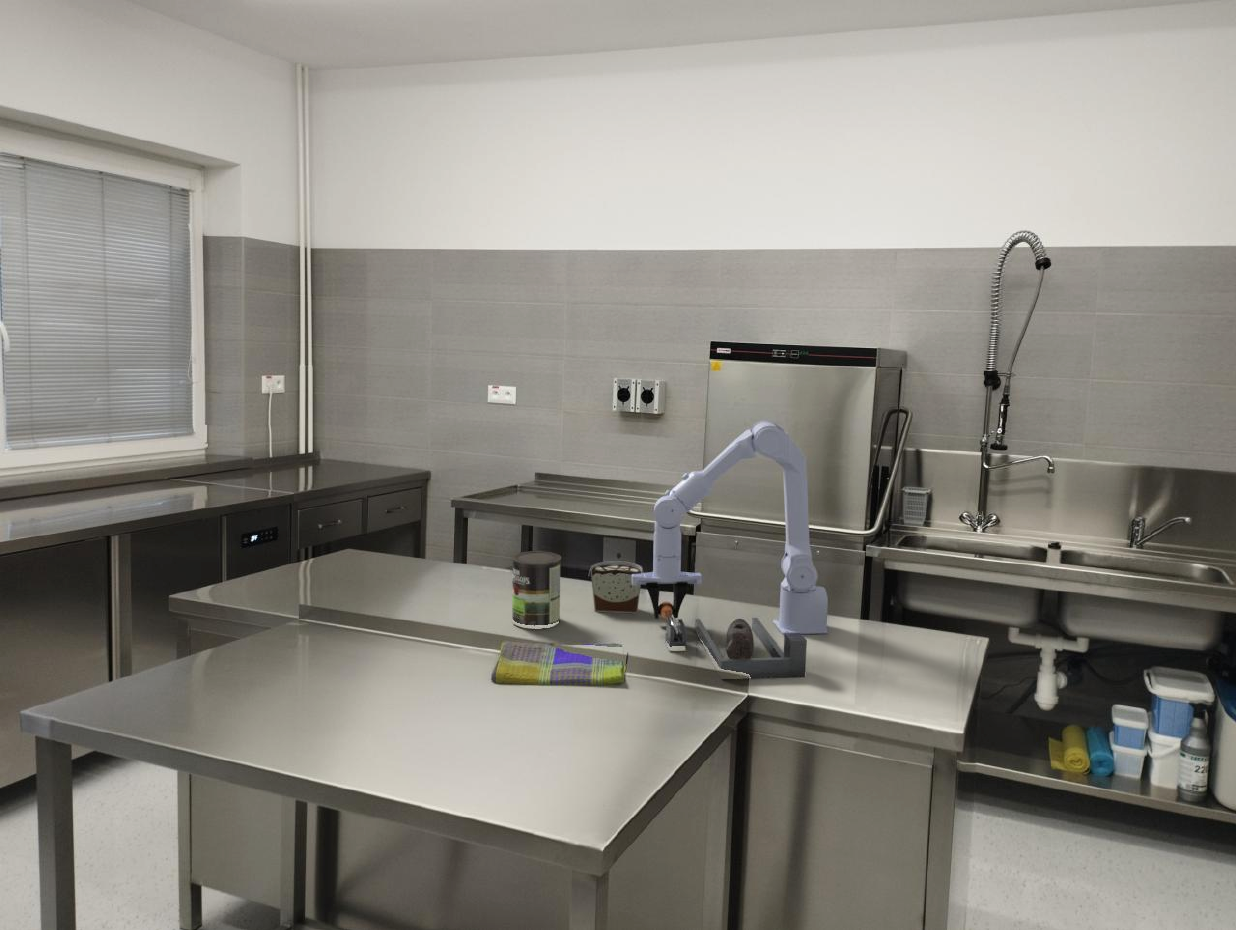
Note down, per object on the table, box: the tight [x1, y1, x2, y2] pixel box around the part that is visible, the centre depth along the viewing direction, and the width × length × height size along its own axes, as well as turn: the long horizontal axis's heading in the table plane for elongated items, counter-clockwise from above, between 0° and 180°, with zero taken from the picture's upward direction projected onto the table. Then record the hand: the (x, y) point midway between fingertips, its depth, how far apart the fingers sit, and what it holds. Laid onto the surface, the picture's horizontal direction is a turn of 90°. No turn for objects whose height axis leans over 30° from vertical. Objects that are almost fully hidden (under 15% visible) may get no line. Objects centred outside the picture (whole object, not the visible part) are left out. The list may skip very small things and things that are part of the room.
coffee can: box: [511, 550, 562, 626], centre depth 199 cm, size 10×10×14 cm
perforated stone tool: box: [725, 618, 755, 659], centre depth 182 cm, size 15×5×7 cm, turn 172°
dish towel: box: [490, 640, 627, 686], centre depth 175 cm, size 18×24×3 cm
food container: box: [587, 560, 645, 614], centre depth 209 cm, size 12×6×10 cm, turn 84°
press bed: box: [665, 617, 808, 680], centre depth 183 cm, size 23×26×7 cm
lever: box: [658, 601, 680, 636], centre depth 192 cm, size 3×16×3 cm, turn 6°
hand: (665, 617), depth 199 cm, fingers closed on lever, 3 cm apart
